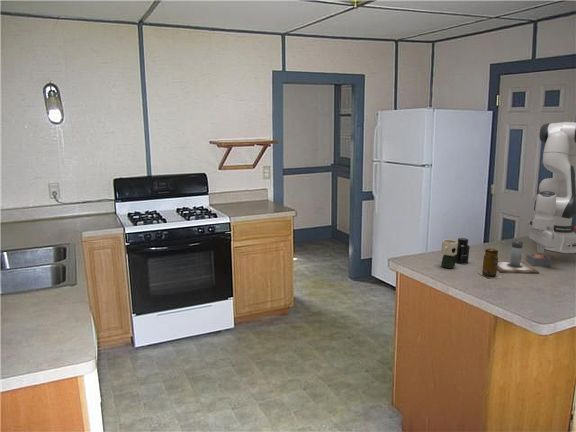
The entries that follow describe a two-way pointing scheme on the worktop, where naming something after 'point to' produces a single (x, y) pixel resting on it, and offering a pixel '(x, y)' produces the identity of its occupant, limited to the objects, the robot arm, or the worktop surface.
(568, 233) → the robot arm
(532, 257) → the button box
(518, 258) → the grey cylinder
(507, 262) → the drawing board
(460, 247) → the supplement bottle
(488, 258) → the condiment
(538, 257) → the button
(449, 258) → the character mug
